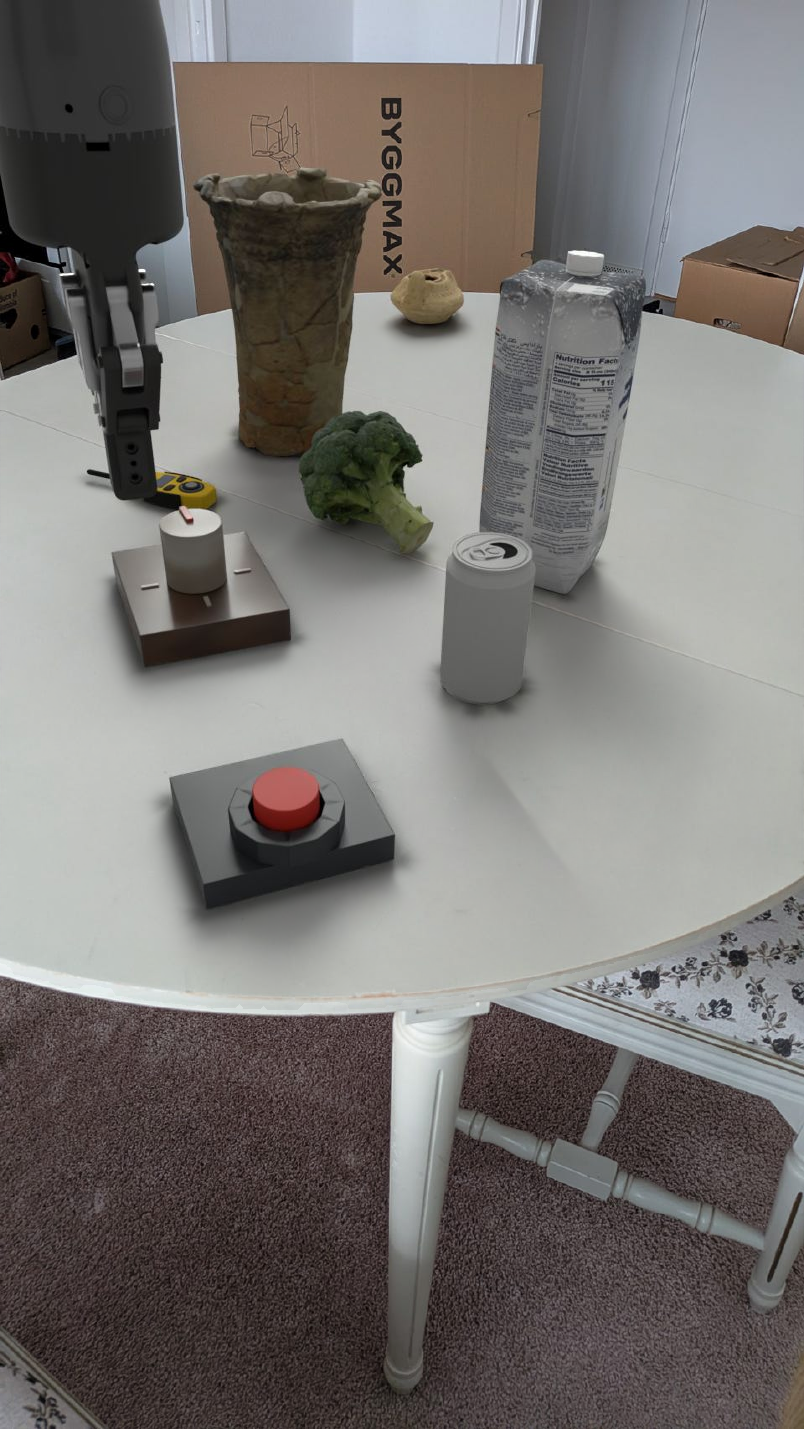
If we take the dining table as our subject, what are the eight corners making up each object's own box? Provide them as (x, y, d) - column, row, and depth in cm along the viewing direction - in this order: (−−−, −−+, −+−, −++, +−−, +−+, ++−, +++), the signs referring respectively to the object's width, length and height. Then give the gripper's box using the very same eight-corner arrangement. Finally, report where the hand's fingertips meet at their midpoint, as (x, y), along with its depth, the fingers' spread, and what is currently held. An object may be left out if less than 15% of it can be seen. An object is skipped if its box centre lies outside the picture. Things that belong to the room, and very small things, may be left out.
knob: (234, 587, 83) (229, 527, 79) (175, 599, 81) (167, 538, 77) (217, 559, 86) (211, 500, 83) (159, 570, 84) (151, 511, 81)
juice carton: (573, 605, 88) (623, 281, 71) (466, 573, 91) (490, 259, 75) (608, 562, 94) (661, 255, 77) (506, 534, 98) (536, 236, 81)
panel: (144, 667, 78) (139, 634, 76) (116, 581, 89) (110, 550, 87) (291, 639, 82) (289, 607, 80) (247, 560, 92) (245, 529, 90)
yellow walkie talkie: (197, 498, 98) (70, 469, 102) (199, 516, 99) (73, 487, 103) (223, 479, 101) (99, 452, 105) (224, 497, 102) (101, 469, 107)
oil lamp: (468, 306, 158) (472, 252, 153) (457, 335, 146) (461, 278, 141) (400, 301, 159) (402, 247, 154) (384, 329, 147) (385, 272, 142)
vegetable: (350, 567, 87) (254, 446, 91) (385, 601, 100) (300, 493, 103) (457, 477, 86) (356, 358, 90) (480, 522, 98) (390, 416, 102)
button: (263, 839, 59) (262, 817, 58) (246, 796, 62) (244, 774, 61) (328, 823, 60) (327, 801, 59) (308, 781, 63) (307, 760, 62)
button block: (208, 915, 59) (201, 868, 56) (172, 801, 66) (165, 756, 64) (397, 864, 63) (398, 818, 60) (343, 762, 70) (342, 717, 68)
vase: (186, 433, 115) (159, 172, 98) (302, 394, 126) (296, 154, 109) (292, 482, 105) (282, 202, 89) (408, 435, 116) (418, 179, 100)
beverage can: (535, 700, 76) (554, 563, 69) (459, 718, 74) (470, 578, 67) (498, 656, 81) (513, 522, 74) (426, 671, 79) (433, 535, 72)
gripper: (-19, 91, 46) (48, 452, 56) (-2, 138, 36) (76, 563, 46) (147, 91, 48) (181, 438, 58) (205, 135, 38) (234, 541, 49)
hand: (134, 493), depth 52 cm, fingers closed
